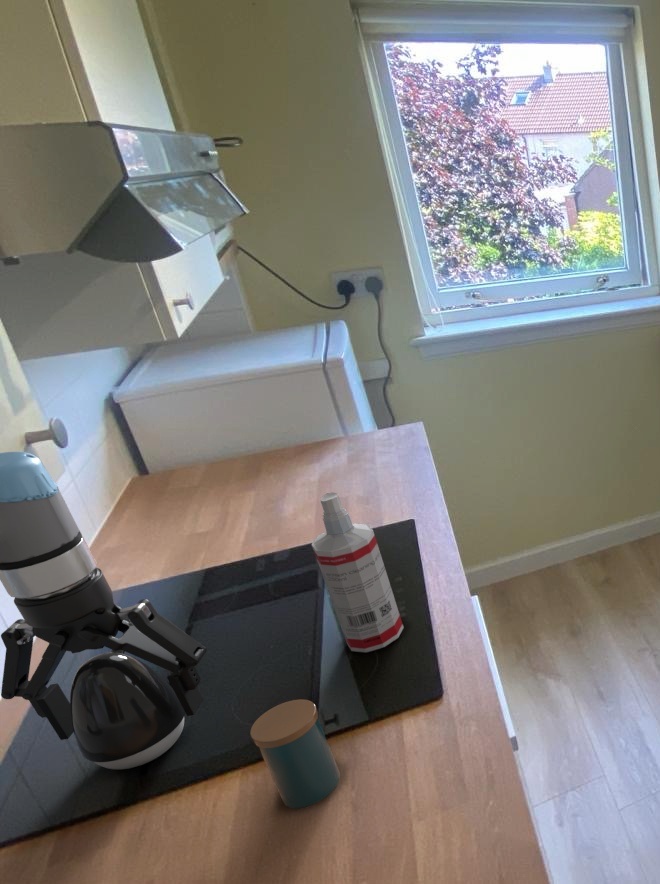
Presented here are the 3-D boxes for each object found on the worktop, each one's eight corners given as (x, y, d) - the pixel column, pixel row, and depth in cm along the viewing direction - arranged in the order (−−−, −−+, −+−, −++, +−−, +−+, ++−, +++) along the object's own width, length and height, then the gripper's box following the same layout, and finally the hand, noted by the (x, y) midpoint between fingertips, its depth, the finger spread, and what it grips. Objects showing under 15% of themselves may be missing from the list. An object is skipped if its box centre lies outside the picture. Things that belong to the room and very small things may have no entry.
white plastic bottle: (410, 636, 114) (366, 495, 103) (357, 660, 109) (306, 515, 99) (393, 614, 119) (349, 478, 108) (342, 636, 114) (291, 496, 104)
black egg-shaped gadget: (208, 710, 100) (166, 621, 94) (176, 769, 91) (127, 675, 85) (119, 730, 98) (69, 640, 91) (77, 793, 89) (18, 698, 82)
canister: (277, 819, 85) (245, 750, 80) (285, 778, 90) (255, 710, 85) (340, 797, 87) (312, 728, 82) (344, 758, 92) (318, 692, 88)
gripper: (196, 545, 90) (257, 678, 99) (-50, 582, 84) (37, 718, 93) (164, 581, 83) (232, 719, 92) (-105, 623, 78) (-5, 765, 87)
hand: (134, 719), depth 93 cm, fingers open, 13 cm apart
